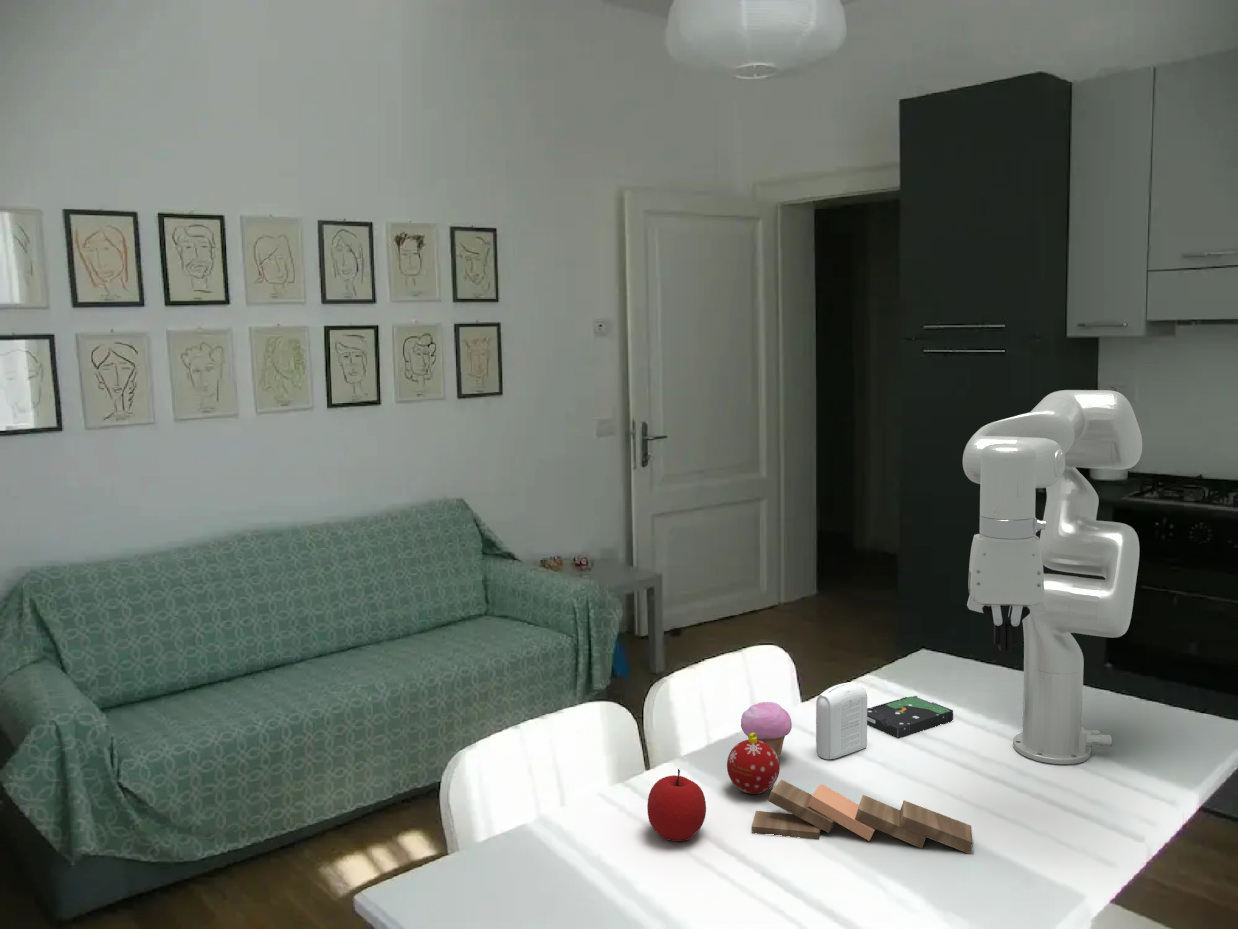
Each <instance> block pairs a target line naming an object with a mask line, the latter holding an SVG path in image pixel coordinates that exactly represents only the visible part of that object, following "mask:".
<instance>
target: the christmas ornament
mask: <svg viewBox="0 0 1238 929" xmlns="http://www.w3.org/2000/svg"><path fill="white" fill-rule="evenodd" d="M753 734H754V736H752V735H753ZM726 769H727V770H726V771H727V773H728V774H727V775H728V777H729V779H730V781H731V783H732V784H733V786H735V787H736V788H737V789H739V790H740V791H742V792H744V793H747V794H750V795H752V794H753V795H756V794H757V795H758V794H762V793H764V792H767V791H769V790H770V789H771V788H772V787H773V786H774V785H775V784H776V782H777V780H778V778H779V775H780V760H779V759H778V757H777V755H776V753H775V751H774V750H773V749H772V748H771V747H770V746H769V745H768V744H767V743H765V742H763V741H760V740H757V737H756V734H755V733H750V735H749V738H748V739H745V740H742V741H740V742H738V743H737V744H736V745H735V746H734V747H732V749H731V750H730V752H729V754H728V756H727V760H726Z"/></svg>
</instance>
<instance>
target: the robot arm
mask: <svg viewBox="0 0 1238 929" xmlns="http://www.w3.org/2000/svg"><path fill="white" fill-rule="evenodd" d="M1140 429H1141V428H1140V426H1139V422H1138V421H1137V417H1136V415H1135V412H1134V409H1133V406H1132V405H1131V403H1130V401H1129V400H1128V398H1127V397H1125V395H1124V394H1122V393H1120V392H1118V391H1116V390H1109V389H1108V390H1105V389H1098V390H1097V389H1095V390H1094V389H1090V390H1089V389H1083V390H1082V389H1064V390H1058V391H1053V392H1050V393H1049V394H1047V395H1046V396H1044V397H1043V398H1042V399H1041V401H1039V403H1037V405H1036V406H1035V407H1034V408H1032V409H1031V411H1029V412H1025V413H1021V414H1018V415H1014V416H1011V417H1008V418H1007V417H1006V418H1004V419H1003V418H1002V419H1000V420H997V421H992V422H990V423H987V424H986V425H983V426H981V427H980V428H979V429H978V430H977V431H976V432H975V433H973V435H972V436H971V437H970V439H969V440H968V441H967V443H966V445H965V448H964V449H963V455H962V468H963V471H964V474H965V476H966V477H967V478H968V480H970V482H973V483H975V484H978V485H980V489H979V533H977V534H974V535H973V539H972V542H971V547H970V554H969V555H970V556H969V564H968V565H969V566H968V567H969V568H968V584H967V585H968V587H967V588H968V593H969V596H968V600H967V603H966V606H967V609H968V610H970V611H973V612H978V613H982V614H984V615H985V616H986V617H987V618H988V619H989V620H990V621H991V622H993V644H994V645H997V647H998V649H999V651H1000V652H1001V653H1005V652H1008V653H1013V646H1017V639H1018V637H1017V634H1018V633H1017V632H1018V630H1017V629H1018V626H1019V625H1020V622H1022V627H1023V629H1022V630H1023V642H1024V643H1023V646H1024V647H1023V654H1024V655H1023V656H1024V657H1023V692H1022V693H1023V694H1022V695H1023V699H1022V704H1023V705H1022V731H1021V732H1019V733H1017V734H1016V735H1015V736H1014V737H1013V738H1012V746H1013V748H1014V750H1015V751H1017V752H1018V753H1019V754H1020V755H1022V756H1024V757H1026V758H1028V759H1030V760H1034V761H1037V762H1042V763H1047V764H1053V765H1073V764H1075V765H1076V764H1080V763H1082V762H1083V763H1084V762H1085V761H1087V760H1089V758H1090V757H1091V754H1092V748H1091V747H1093V746H1100V747H1111V746H1113V745H1112V744H1113V742H1112V741H1113V740H1112V736H1111V734H1101V731H1100V730H1096V729H1095V730H1094V729H1091V730H1087V729H1086V728H1085V727H1084V726H1083V698H1084V697H1083V696H1084V695H1083V694H1084V693H1083V692H1084V662H1085V661H1084V654H1083V652H1082V649H1081V647H1080V645H1079V643H1078V642H1077V640H1076V638H1075V637H1074V636H1073V635H1072V634H1081V635H1087V636H1088V635H1089V636H1094V637H1095V636H1096V637H1103V638H1120V637H1122V636H1123V635H1125V634H1126V633H1127V631H1128V630H1129V627H1130V624H1131V619H1132V616H1133V614H1132V613H1133V607H1134V601H1135V600H1134V599H1135V594H1136V593H1135V592H1136V587H1137V586H1136V584H1137V578H1138V577H1137V576H1138V569H1139V563H1140V541H1139V536H1138V534H1137V532H1136V531H1135V529H1134V528H1133V527H1132V526H1131V525H1128V524H1126V523H1122V522H1118V521H1117V522H1116V521H1108V520H1107V521H1106V520H1105V521H1104V520H1097V516H1098V508H1099V503H1100V502H1099V501H1100V500H1099V495H1098V493H1097V492H1096V490H1095V488H1094V487H1093V486H1092V484H1091V483H1090V482H1089V481H1088V480H1087V478H1085V476H1084V475H1083V474H1082V473H1080V471H1079V470H1078V469H1077V468H1083V469H1100V470H1101V469H1102V470H1105V469H1106V470H1127V469H1128V470H1129V469H1131V468H1133V467H1134V466H1136V465H1137V463H1139V462H1140V459H1141V456H1142V452H1143V436H1142V432H1141V430H1140ZM1036 489H1046V490H1045V491H1046V501H1045V507H1044V513H1043V519H1042V520H1040V519H1038V518H1036V495H1037V494H1036ZM1039 531H1040V535H1039V536H1037V533H1038V532H1039ZM1044 567H1045V568H1048V569H1050V570H1052V571H1057V572H1058V571H1059V572H1064V573H1073V574H1078V575H1079V574H1081V575H1090V576H1098V577H1103V578H1104V579H1099V578H1089V577H1083V576H1082V577H1081V576H1080V577H1079V576H1075V575H1067V574H1066V575H1065V574H1064V575H1063V574H1057V573H1056V574H1055V573H1045V572H1044ZM1001 606H1008V607H1009V610H1008V616H1007V617H1006V620H1004V618H1003V615H1002V609H1001Z"/></svg>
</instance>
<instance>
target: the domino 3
mask: <svg viewBox="0 0 1238 929" xmlns="http://www.w3.org/2000/svg"><path fill="white" fill-rule="evenodd" d="M811 795H812V796H811V799H810V801H809V803H808V806H809V807H811V808H813V809H814V810H816V811H818V812H819V813H821V814H823V815H825V816H826V817H828V818H830V819H832V820H833V821H835V822H836V823H837V824H838V825H840V826H842V827H844V828H845V829H847V830H849V831H851V832H852V833H854V834H856V835H857V836H859V837H861V838H863V839H865V840H867V841H868V842H870V840H871V839H872V838H873V836H874V834H875V831H876V830H877V829H875V828H873V827H871V826H868V825H866V824H864V823H861V822H859V821H857V820H855V817H856V814H857V811H858V807H859V804H858V803H856V802H855V801H852V800H851V799H849V798H847V797H846V796H844V795H842V794H840V793H839V792H836V791H835V790H833V789H832V788H829V787H827V786H826V785H824V784H823V783H820V784H819V785H818V786H817V788H816V789H815V790H814V792H813V793H812V794H811Z"/></svg>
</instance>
